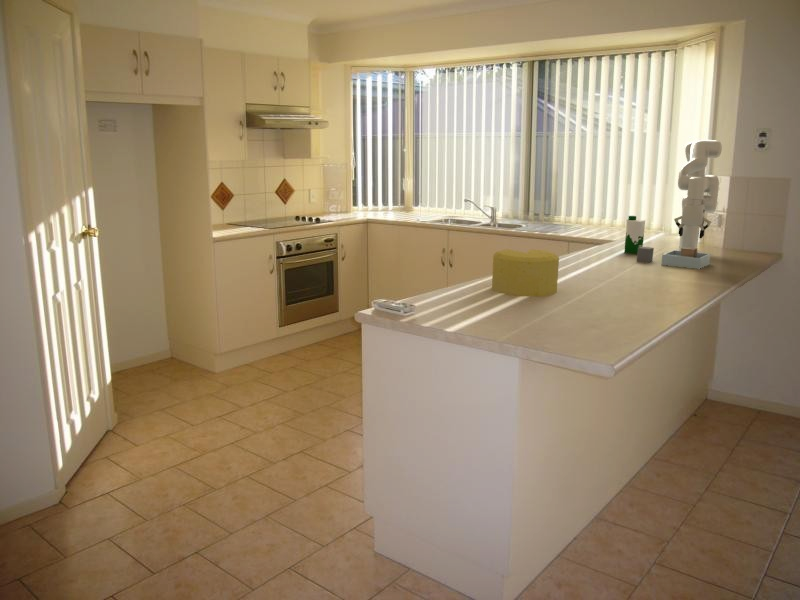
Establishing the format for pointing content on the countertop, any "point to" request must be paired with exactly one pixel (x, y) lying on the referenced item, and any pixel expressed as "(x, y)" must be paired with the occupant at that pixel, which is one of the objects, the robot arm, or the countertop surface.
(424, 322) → the countertop surface
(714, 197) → the robot arm
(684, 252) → the walnut block
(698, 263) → the bin
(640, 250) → the charcoal block
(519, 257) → the cheese
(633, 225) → the soya milk
